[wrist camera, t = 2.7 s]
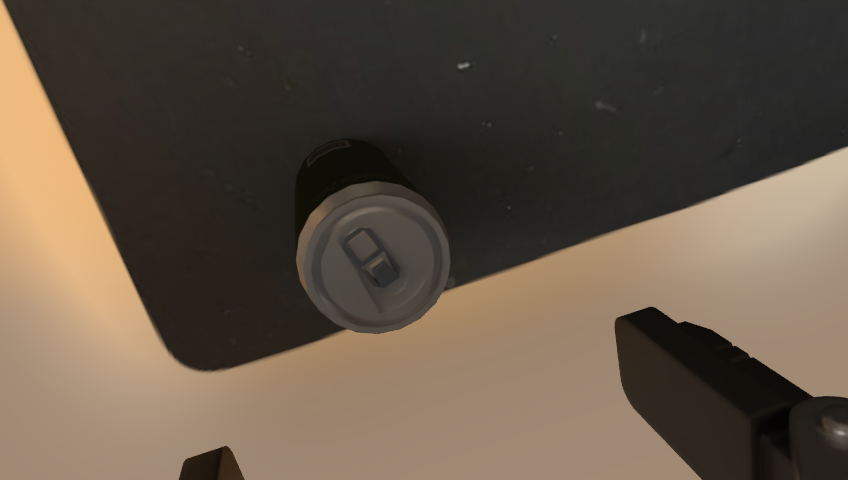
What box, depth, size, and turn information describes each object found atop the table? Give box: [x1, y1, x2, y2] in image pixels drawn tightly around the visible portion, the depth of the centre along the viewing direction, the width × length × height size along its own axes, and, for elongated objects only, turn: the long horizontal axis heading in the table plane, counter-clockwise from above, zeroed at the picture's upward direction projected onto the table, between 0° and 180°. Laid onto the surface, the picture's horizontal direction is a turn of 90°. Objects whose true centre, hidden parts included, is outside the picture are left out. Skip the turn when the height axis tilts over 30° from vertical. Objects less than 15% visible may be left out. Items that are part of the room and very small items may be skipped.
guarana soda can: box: [295, 139, 451, 334], centre depth 24 cm, size 5×5×12 cm
